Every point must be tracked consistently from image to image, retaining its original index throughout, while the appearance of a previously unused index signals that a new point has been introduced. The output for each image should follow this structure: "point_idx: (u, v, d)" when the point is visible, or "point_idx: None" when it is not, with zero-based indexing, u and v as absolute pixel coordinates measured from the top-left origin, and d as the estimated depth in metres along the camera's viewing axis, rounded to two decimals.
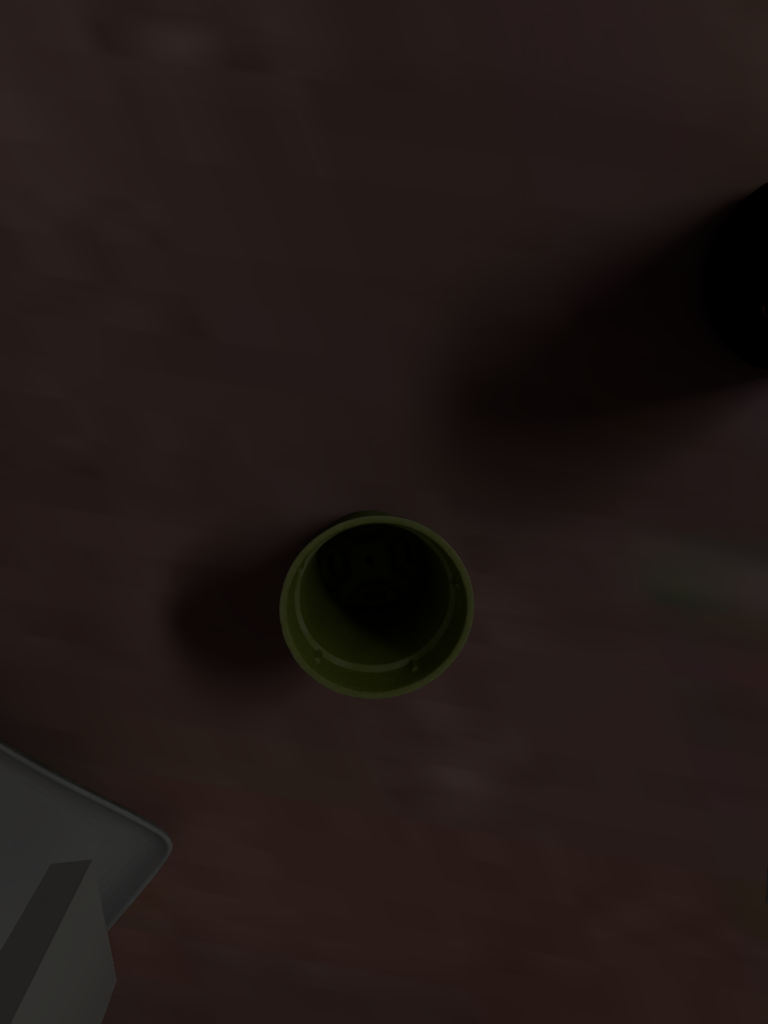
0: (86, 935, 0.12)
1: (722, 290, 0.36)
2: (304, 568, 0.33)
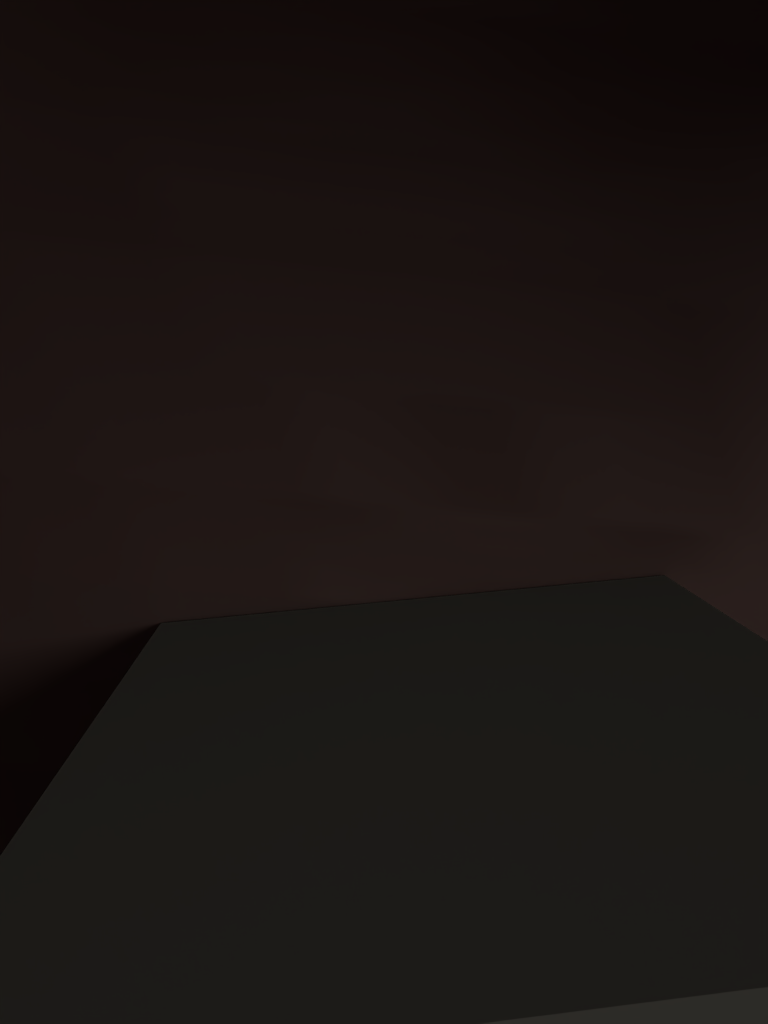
0: None
1: None
2: None
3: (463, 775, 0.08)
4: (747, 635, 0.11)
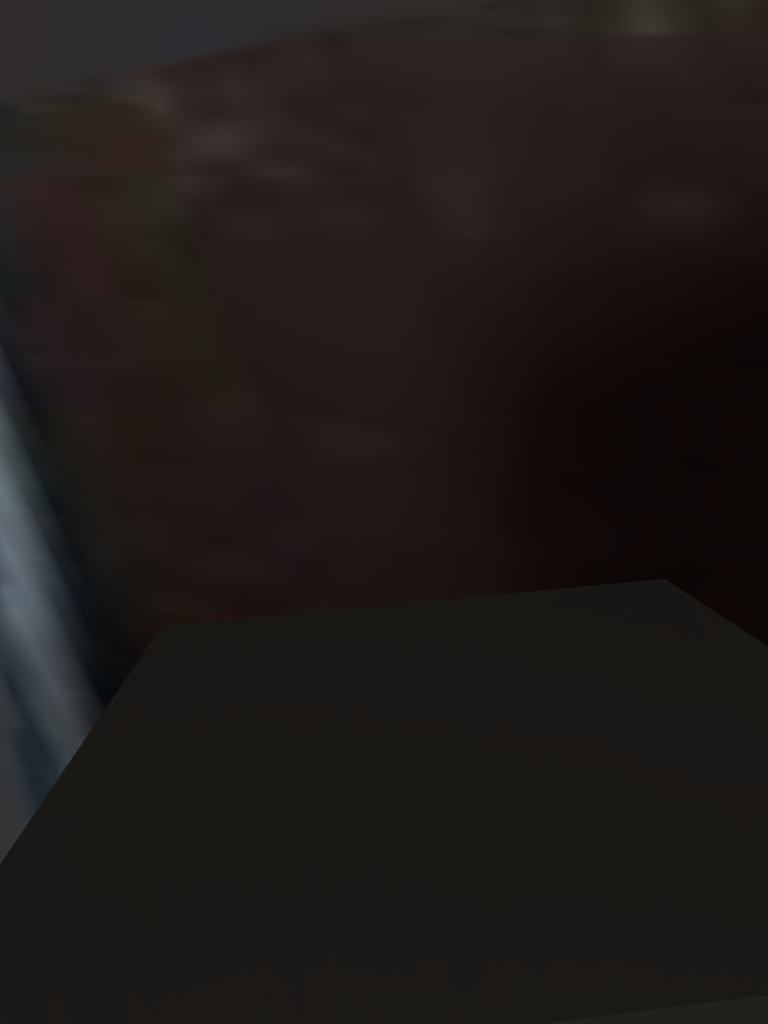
0: None
1: None
2: None
3: (463, 781, 0.08)
4: (746, 639, 0.11)
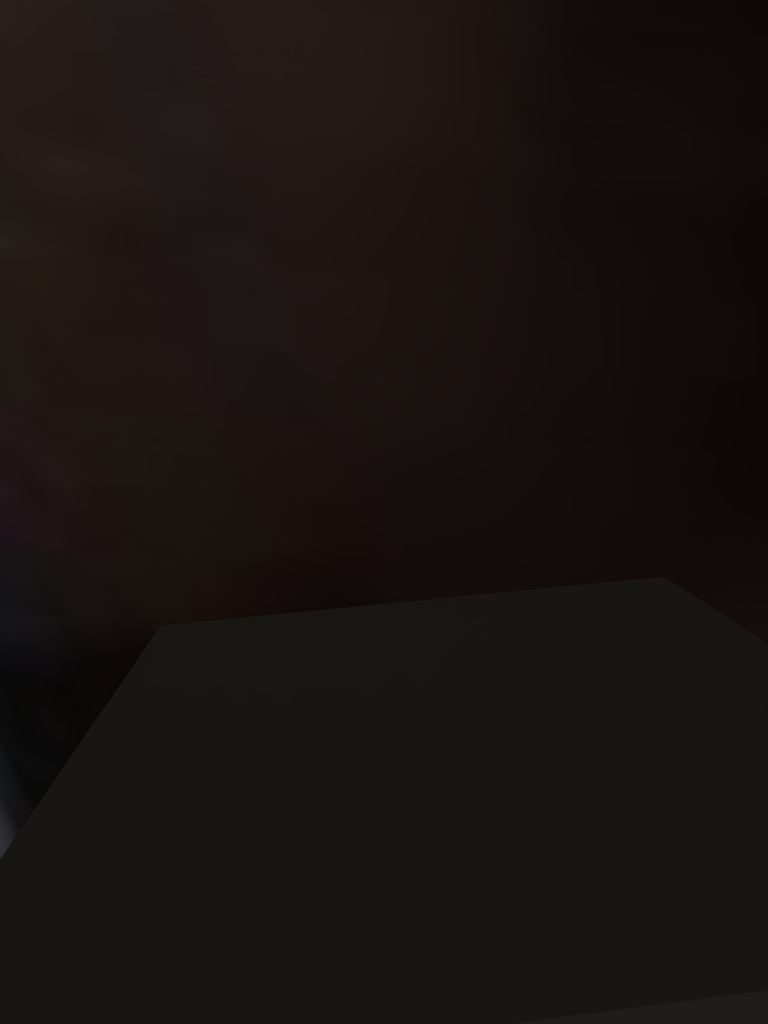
0: None
1: None
2: None
3: (462, 778, 0.08)
4: (746, 637, 0.11)
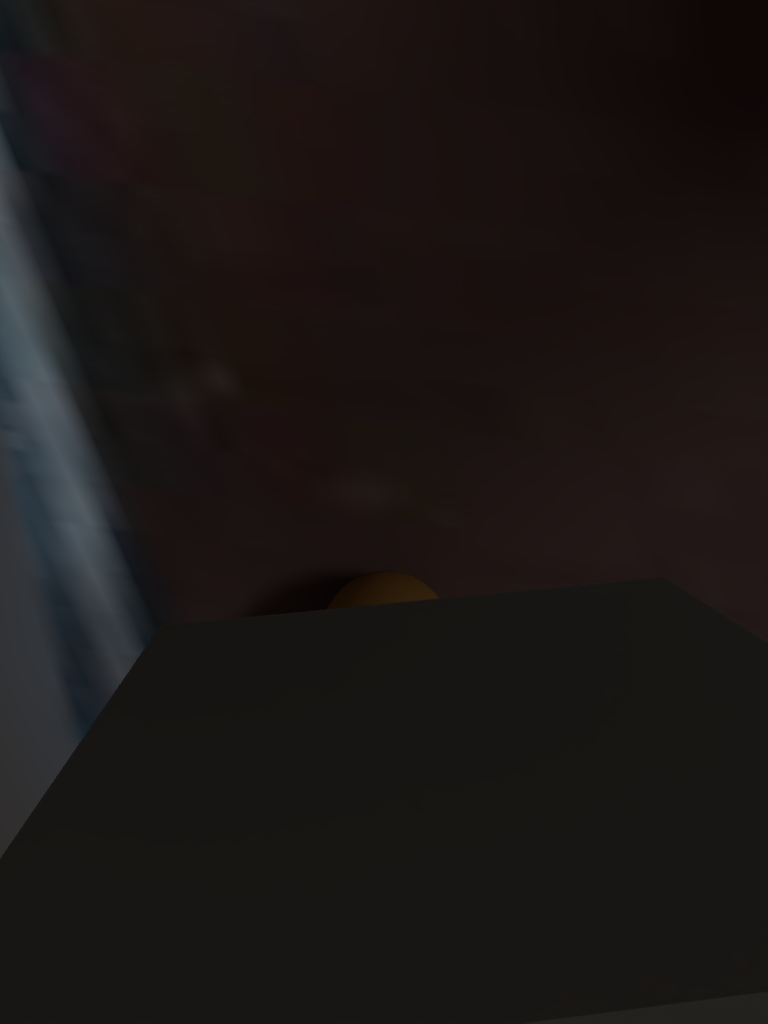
0: None
1: None
2: None
3: (463, 778, 0.08)
4: (747, 637, 0.11)
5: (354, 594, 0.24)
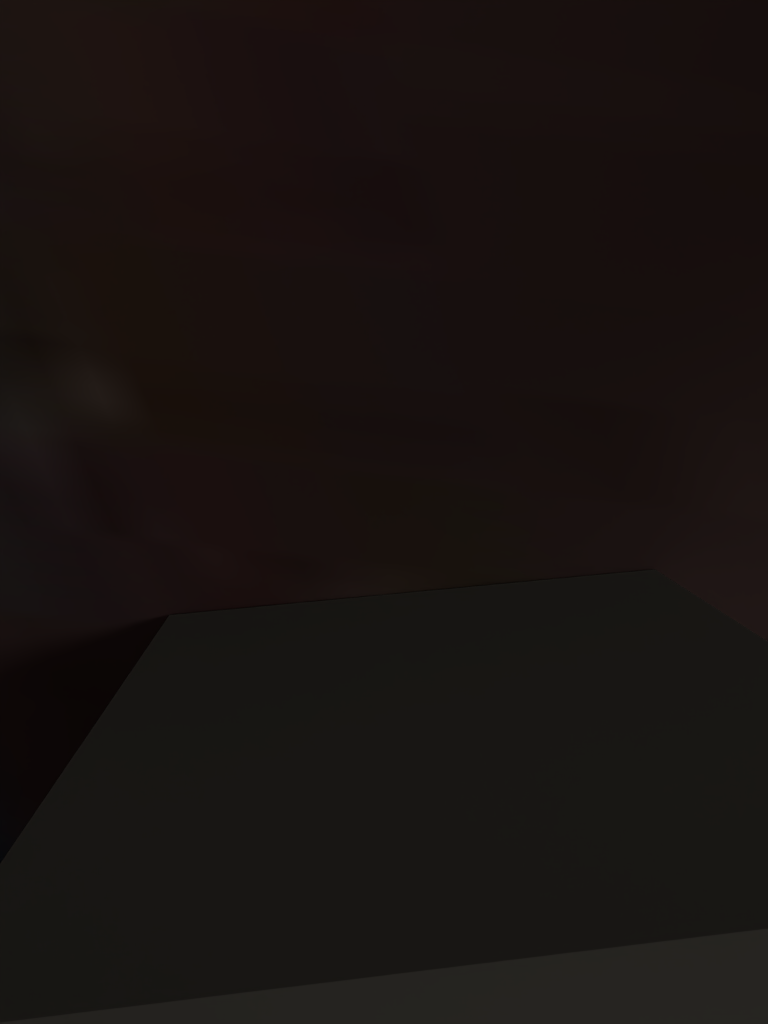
0: None
1: None
2: None
3: (459, 752, 0.08)
4: (731, 625, 0.11)
5: None
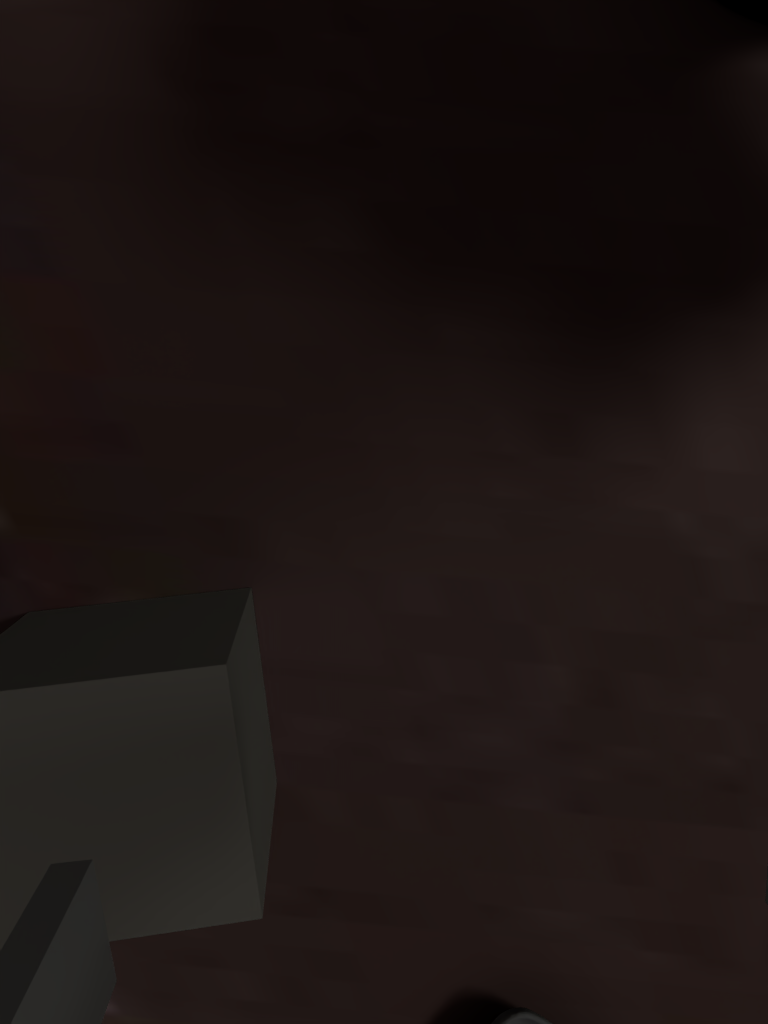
0: (86, 935, 0.12)
1: None
2: None
3: (96, 649, 0.25)
4: (240, 609, 0.28)
5: None
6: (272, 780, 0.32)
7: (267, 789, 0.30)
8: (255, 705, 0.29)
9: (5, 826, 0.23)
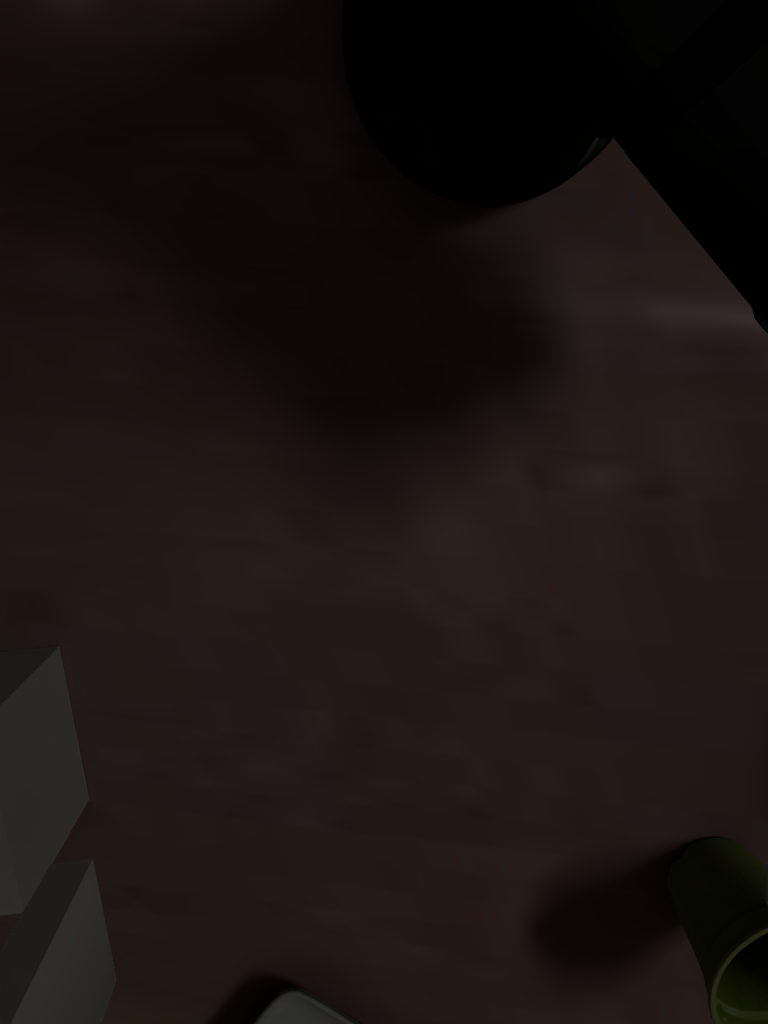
0: (86, 935, 0.12)
1: None
2: (715, 940, 0.38)
3: None
4: (33, 669, 0.36)
5: None
6: (77, 800, 0.40)
7: (61, 809, 0.38)
8: (46, 744, 0.36)
9: None
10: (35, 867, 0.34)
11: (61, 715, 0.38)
